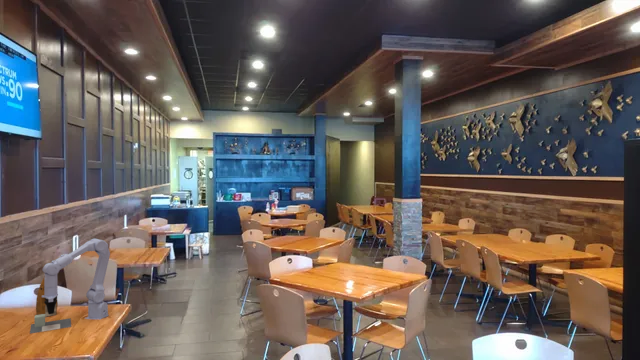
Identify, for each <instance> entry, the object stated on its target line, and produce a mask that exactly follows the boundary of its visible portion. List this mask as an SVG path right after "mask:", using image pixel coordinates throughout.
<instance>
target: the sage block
mask: <svg viewBox="0 0 640 360" xmlns="http://www.w3.org/2000/svg"><path fill="white" fill-rule="evenodd" d="M45 322H46V317H45V314H41V315H34V324H35V327H41V326H45Z"/></svg>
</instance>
